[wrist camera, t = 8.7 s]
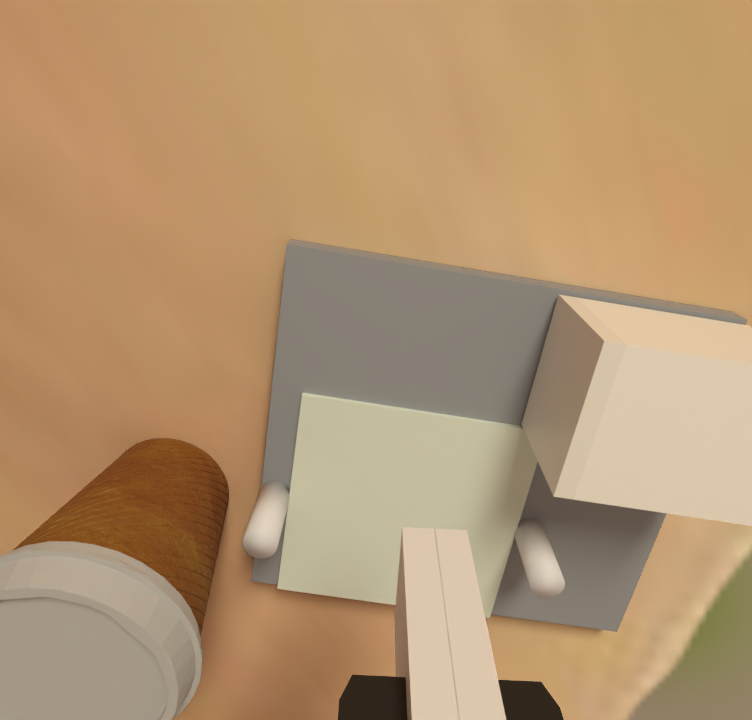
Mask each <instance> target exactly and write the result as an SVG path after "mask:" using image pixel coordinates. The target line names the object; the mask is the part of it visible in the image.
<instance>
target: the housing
mask: <svg viewBox="0 0 752 720" xmlns="http://www.w3.org/2000/svg"><path fill="white" fill-rule="evenodd" d="M522 426H523V429H524V431H525V433H526V435H527V438H528V440H529V442H530V445H531V447H532V449H533V451H534V454H535V456H536V458H537V460H538V463H539V465H540V467H541V469H542V472H543V474H544V476H545V478H546V481H547V483H548V485H549V487H550V490H551V492H552V494H553V497H560V498H566V499H573V500H580V501H587V502H593V503H600V504H607V505H614V506H620V507H627V508H634V509H641V510H647V511H654V512H661V513H668V514H674V515H681V516H688V517H695V518H701V519H708V520H715V521H722V522H728V523H735V524H742V525H749V526H752V327H750V326H748V325H743V324H736V323H730V322H724V321H718V320H712V319H706V318H700V317H694V316H688V315H681V314H675V313H669V312H663V311H657V310H651V309H645V308H639V307H633V306H626V305H620V304H614V303H608V302H602V301H596V300H590V299H584V298H577V297H571V296H565V295H558V298H557V302H556V305H555V309H554V312H553V316H552V319H551V323H550V326H549V330H548V333H547V337H546V340H545V344H544V347H543V351H542V354H541V358H540V361H539V365H538V368H537V372H536V375H535V379H534V382H533V386H532V389H531V393H530V396H529V400H528V403H527V407H526V410H525V413H524V417H523V420H522Z"/></svg>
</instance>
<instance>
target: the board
mask: <svg viewBox="0 0 752 720" xmlns="http://www.w3.org/2000/svg"><path fill="white" fill-rule="evenodd" d="M558 295H565V296H571V297H577V298H584V299H590V300H596V301H602V302H608V303H614V304H620V305H626V306H633V307H639V308H645V309H651V310H657V311H663V312H669V313H675V314H681V315H688V316H694V317H700V318H706V319H712V320H718V321H724V322H730V323H736V324H743V325H745V324H746V322H747V319H745V318H743V317H741V316H739V315H738V314H736V313H734V312H730V311H724V310H718V309H712V308H706V307H700V306H694V305H688V304H682V303H676V302H670V301H664V300H657V299H651V298H645V297H639V296H633V295H627V294H621V293H615V292H609V291H603V290H597V289H591V288H584V287H578V286H572V285H566V284H560V283H554V282H548V281H542V280H536V279H530V278H524V277H518V276H512V275H505V274H499V273H493V272H487V271H481V270H475V269H469V268H463V267H457V266H451V265H445V264H439V263H432V262H426V261H420V260H414V259H408V258H402V257H396V256H390V255H384V254H378V253H372V252H366V251H360V250H353V249H347V248H341V247H335V246H329V245H323V244H317V243H311V242H305V241H299V240H293V239H291V240H290V241H289V242H288V244H287V249H286V258H285V268H284V277H283V287H282V296H281V306H280V315H279V325H278V334H277V344H276V353H275V362H274V372H273V381H272V391H271V400H270V410H269V419H268V429H267V438H266V448H265V457H264V467H263V476H262V486H261V489H260V492H259V495H258V498H257V501H256V504H255V507H254V509H253V512H252V515H251V518H250V521H249V524H248V527H247V530H246V533H245V536H244V539H243V548H244V550H245V551H246V552H247V553H248V554H249V555H250V556H252V557H254V562H253V571H252V581H254V582H261V583H268V584H275V585H278V587H277V589H282V590H290V591H297V592H304V593H311V594H319V595H326V596H333V597H340V598H347V599H355V600H362V601H369V602H376V603H384V604H391V605H396V594H397V582H398V570H399V558H400V546H401V535H402V527H412V528H433V529H453V530H467V533H468V537H469V542H470V547H471V552H472V557H473V562H474V566H475V571H476V576H477V581H478V586H479V590H480V595H481V600H482V605H483V610H484V615H485V618H490V615H491V614H492V615H500V616H507V617H514V618H521V619H529V620H536V621H543V622H550V623H557V624H565V625H572V626H579V627H586V628H594V629H601V630H608V631H615V632H617V631H618V628H619V626H620V623H621V621H622V619H623V616H624V614H625V612H626V609H627V607H628V604H629V602H630V600H631V597H632V595H633V592H634V590H635V588H636V585H637V583H638V580H639V578H640V576H641V573H642V571H643V568H644V566H645V564H646V561H647V559H648V556H649V554H650V552H651V549H652V547H653V544H654V542H655V540H656V537H657V535H658V532H659V530H660V528H661V525H662V523H663V521H664V518H665V516H666V513H661V512H654V511H647V510H641V509H634V508H627V507H620V506H614V505H607V504H600V503H593V502H587V501H580V500H573V499H566V498H560V497H553V494H552V492H551V490H550V487H549V485H548V483H547V481H546V478H545V476H544V474H543V472H542V469H541V467H540V465H539V463H538V460H537V458H536V456H535V454H534V451H533V449H532V447H531V445H530V442H529V440H528V438H527V435H526V433H525V431H524V429H523V426H522V420H523V417H524V413H525V410H526V407H527V403H528V400H529V396H530V393H531V389H532V386H533V382H534V379H535V375H536V372H537V368H538V365H539V361H540V358H541V354H542V351H543V347H544V344H545V340H546V337H547V333H548V330H549V326H550V323H551V319H552V316H553V312H554V309H555V305H556V302H557V298H558Z"/></svg>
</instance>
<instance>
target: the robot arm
mask: <svg viewBox="0 0 752 720" xmlns="http://www.w3.org/2000/svg"><path fill="white" fill-rule="evenodd" d="M394 618H395V656H396V677H388V676H366V675H352V677H351V678H350V680H349V682H348V684H347V686H346V688H345V690H344V692H343V694H342V696H341V698H340V699H339V712H338V720H563V716H562V713H561V710H560V707H559V706H558V705H557V703H556V702H555V700H554V699H553V698H552V696H551V695H550V693H549V692H548V691H547V689H546V688H545V687H544V685H543V684H542V682H532V681H510V680H498V677H497V672H496V668H495V663H494V658H493V653H492V648H491V644H490V639H489V634H488V629H487V624H486V619H485V615H484V610H483V605H482V600H481V595H480V590H479V586H478V581H477V576H476V571H475V566H474V562H473V557H472V552H471V547H470V542H469V537H468V533H467V530H453V529H433V528H412V527H402V535H401V546H400V558H399V570H398V582H397V594H396V605H395V617H394Z"/></svg>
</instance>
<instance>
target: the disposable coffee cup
mask: <svg viewBox="0 0 752 720" xmlns="http://www.w3.org/2000/svg"><path fill="white" fill-rule="evenodd" d="M228 498H229V490H228V484H227V481H226V478H225V475H224V474H223V472H222V470H221V469H220V467H219V466H218V464H217V463H216V462H215V461H214V460H213V459H212V458H211V457H210V456H209V455H208V454H206V453H205V452H204V451H203V450H201V449H199V448H197V447H195V446H194V445H192V444H189V443H186V442H183V441H180V440H174V439H151V440H146V441H143V442H140V443H138V444H135V445H134V446H133V447H131V448H130V449H128V450H127V451H126V452H125V453H124V454H122V455H121V456H120V457H119V458H118V459H117V460H116V461H114V462H113V463H112V464H111V465H110V466H109V467H107V468H106V469H105V470H104V471H103V472H102V473H101V474H99V475H98V476H97V477H96V478H95V479H94V480H93V481H91V482H90V483H89V484H88V485H87V486H85V487H84V488H83V489H82V490H81V491H80V492H79V493H78V494H77V495H75V496H74V497H73V498H72V499H71V500H70V501H69V502H68V503H66V504H65V505H64V506H63V507H61V508H60V509H59V510H58V511H57V512H56V513H55V514H54V515H52V516H51V517H50V518H49V519H48V520H47V521H46V522H44V523H43V524H42V525H41V526H40V527H39V528H38V529H36V530H35V531H34V532H33V533H32V534H31V535H30V536H29V537H27V538H26V539H25V540H24V541H22V542H21V543H20V544H19V545H18V546H17V547H16V548H15V549H13V550H12V551H9V552H8V553H6V554H4V555H1V556H0V720H172V719H173V718H174V717H175V716H177V715H178V714H180V713H181V712H182V710H183V709H184V708H185V707H186V705H187V704H188V703H189V702H190V701H191V699H192V698H193V696H194V694H195V692H196V689H197V687H198V685H199V682H200V680H201V675H202V659H203V651H202V647H201V638H200V636H201V631H202V626H203V621H204V616H205V611H206V606H207V602H208V597H209V592H210V587H211V582H212V578H213V573H214V568H215V563H216V558H217V554H218V549H219V544H220V539H221V534H222V529H223V524H224V519H225V515H226V510H227V505H228Z"/></svg>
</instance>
